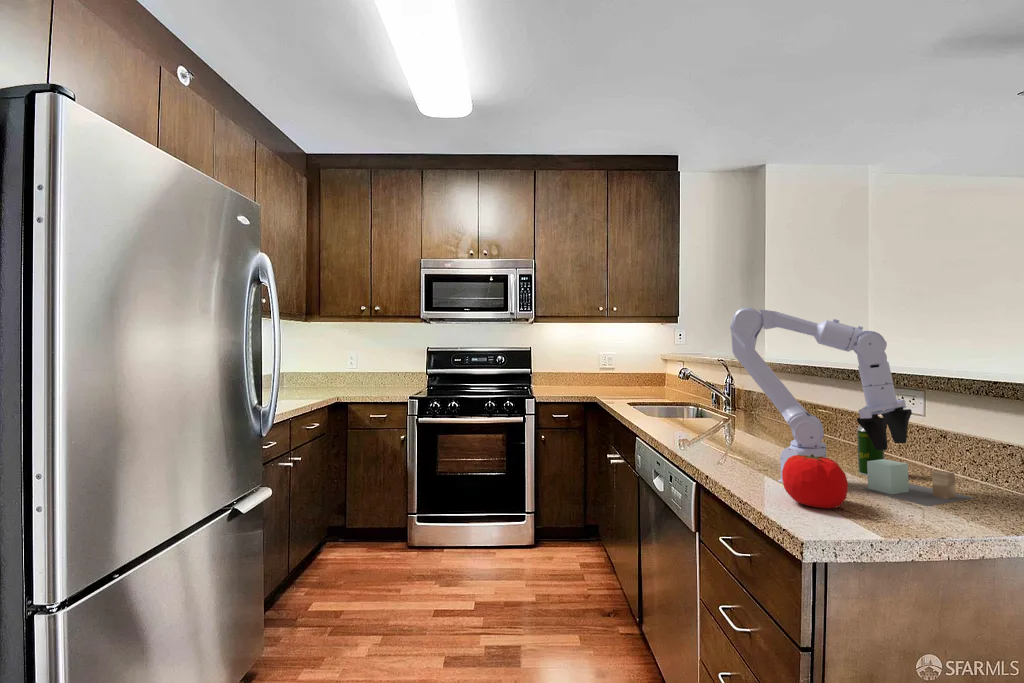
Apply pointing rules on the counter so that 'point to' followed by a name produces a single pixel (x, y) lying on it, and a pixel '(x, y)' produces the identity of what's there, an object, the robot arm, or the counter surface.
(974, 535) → the counter surface
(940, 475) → the beech post
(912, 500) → the rubber mat
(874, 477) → the pale green block
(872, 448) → the beer can
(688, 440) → the counter surface
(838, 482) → the tomato
